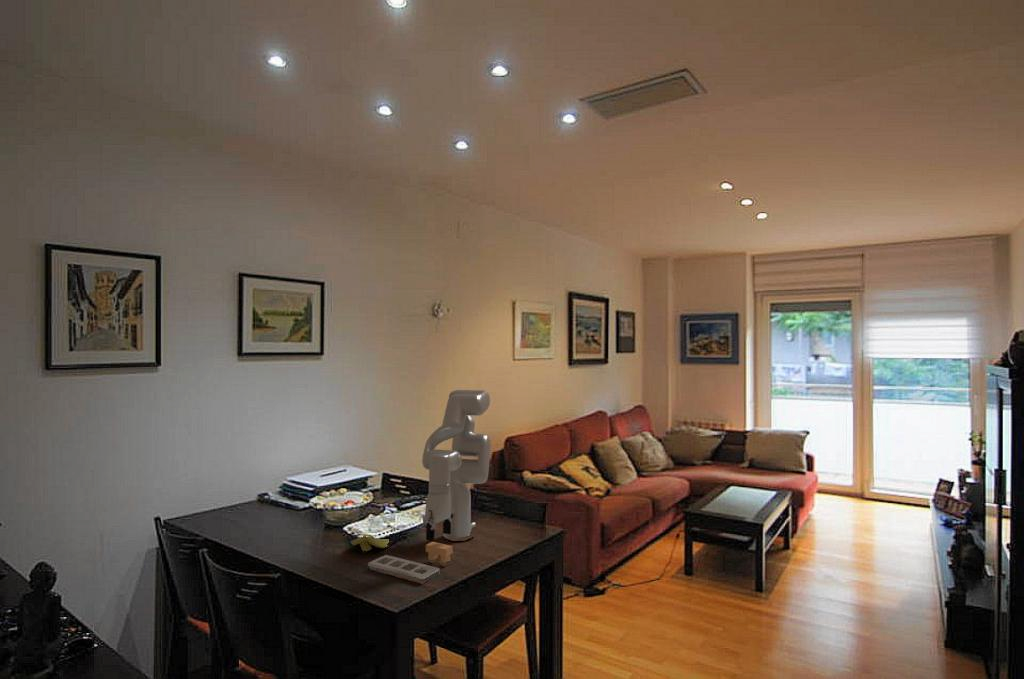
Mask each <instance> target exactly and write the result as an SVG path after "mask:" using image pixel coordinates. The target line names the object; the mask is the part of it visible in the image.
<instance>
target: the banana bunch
mask: <svg viewBox="0 0 1024 679" xmlns="http://www.w3.org/2000/svg"><path fill="white" fill-rule="evenodd" d="M386 526H387V527H391V528H393V526H392V525H391V524H387V525H386ZM360 537H361V538H360ZM360 537H358V538H356V539H353V540H351V541H350V544H351V545H352V546H356V545H359V544H360V545H359V546H360V548H361V551H362V550H363V551H366V552H368V551H370V550H373V548H372V546H374V547H376V548H380V549H386V548H388V547H389V546H388V545H387V544H388V543H389V539H375V538H374V537H373V536H371V537H366V536H364V535H363V537H362V536H360ZM387 546H388V547H387ZM385 547H386V548H385ZM363 551H362V552H363Z"/></svg>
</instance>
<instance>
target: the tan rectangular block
mask: <svg viewBox="0 0 1024 679" xmlns="http://www.w3.org/2000/svg"><path fill="white" fill-rule="evenodd" d="M453 548H454V547H453V545H450V544H445V543H440V542H435V541H430V542H429V543H427V544H425V553H428V554H427V556H428V557H427V558H428V559H429V560H434V559H436V558H438V559H439V556H440V563H441V562H443V563H445V562H447V561H450V562H451V555H452V554H454V551H453V550H454V549H453ZM428 559H427V560H428Z"/></svg>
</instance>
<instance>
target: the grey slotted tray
mask: <svg viewBox="0 0 1024 679" xmlns="http://www.w3.org/2000/svg"><path fill="white" fill-rule="evenodd" d="M384 561H388V563H386V564H382V562H384ZM396 564H400V565H401V566H399V567H394V566H393V565H396ZM368 566H370V567H374V568H379V569H384V570H388V571H392V572H395V573H399V574H403V575H407V576H412V577H416V578H419V579H425V578H427V577H429V576H430V575H432V574H434V573H436V572H438V571H439V572H440V567H437V566H433V565H429V564H424V563H422V562H421V563H419V562H416V561H412V560H408V559H404V558H401V557H396V556H394V555H393V556H392V555H387V554H385V555H383V556H380V557H377V558H375V559H374V560H371V561H369V562H367V567H368ZM408 567H414V569H412V570H410V571H409V570H405V569H406V568H408ZM420 570H426V571H427V572H425V573H423V574H421V573H417V572H419V571H420Z"/></svg>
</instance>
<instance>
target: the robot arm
mask: <svg viewBox="0 0 1024 679" xmlns="http://www.w3.org/2000/svg"><path fill="white" fill-rule="evenodd" d="M446 402H447V403H446V406H445V407H446V408H445V412H444V416H443V419H442V420H443V421H442V425H441V426H439V427H438V428H437V429H434V431H433V432H432V433H431V435H430V436H428V438H427V440H426V442H425V445H424V448H423V454H422V459H421V460H422V461H421V463H422V466H423V468H424V469H426V470H429V471H428V473H429V474H428V493H427V496H426V500H425V501H426V502H425V511H424V512H425V513H424V516H423V517H422V523H423V526H424V528H425V532H426V533H425V539H426V541H430V542H435V525H436V524H438V523H441V522H442V537H443V536H444V537H446V538H448V537H449V539H450V537H452V538H462V537H466V536H469V535H470V532H471V531H472V529H473V528H475V527H476V525H477V524H476V522H475V521H474V522H471V518H472V517H471V515H472V514H471V511H472V510H471V507H472V506H471V504H472V503H471V502H472V500H471V499H472V498H471V497H472V495H471V490H470V489H469V486H468V485H467V484H473V485H474V484H475V485H476V484H478V485H481V484H485V483H486V482H487V481H488V477H489V472H490V471H489V469H490V461H491V460H490V459H491V448H492V447H491V446H492V445H491V439H490V437H489V436H488V435H487V434H485V433H475V425H476V423H475V420H474V419H473V417H472V416H482V415H483V414H484V413H485V412H486V411H487V410H488V409H489V407H490V404H491V397H490V393H489V392H488V391H487V390H484V389H483V390H482V389H481V390H479V389H474V390H473V389H457V390H456V389H455V390H453V391H450V393H449V395H448V398H447V401H446ZM451 439H452V441H451V449H450V450H449V449H436V448H437V446H438V445H440V444H441V443H443V442H445V441H448V440H451ZM462 457H469V458H462ZM472 457H473V458H477V459H472ZM470 458H471V459H470Z"/></svg>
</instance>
